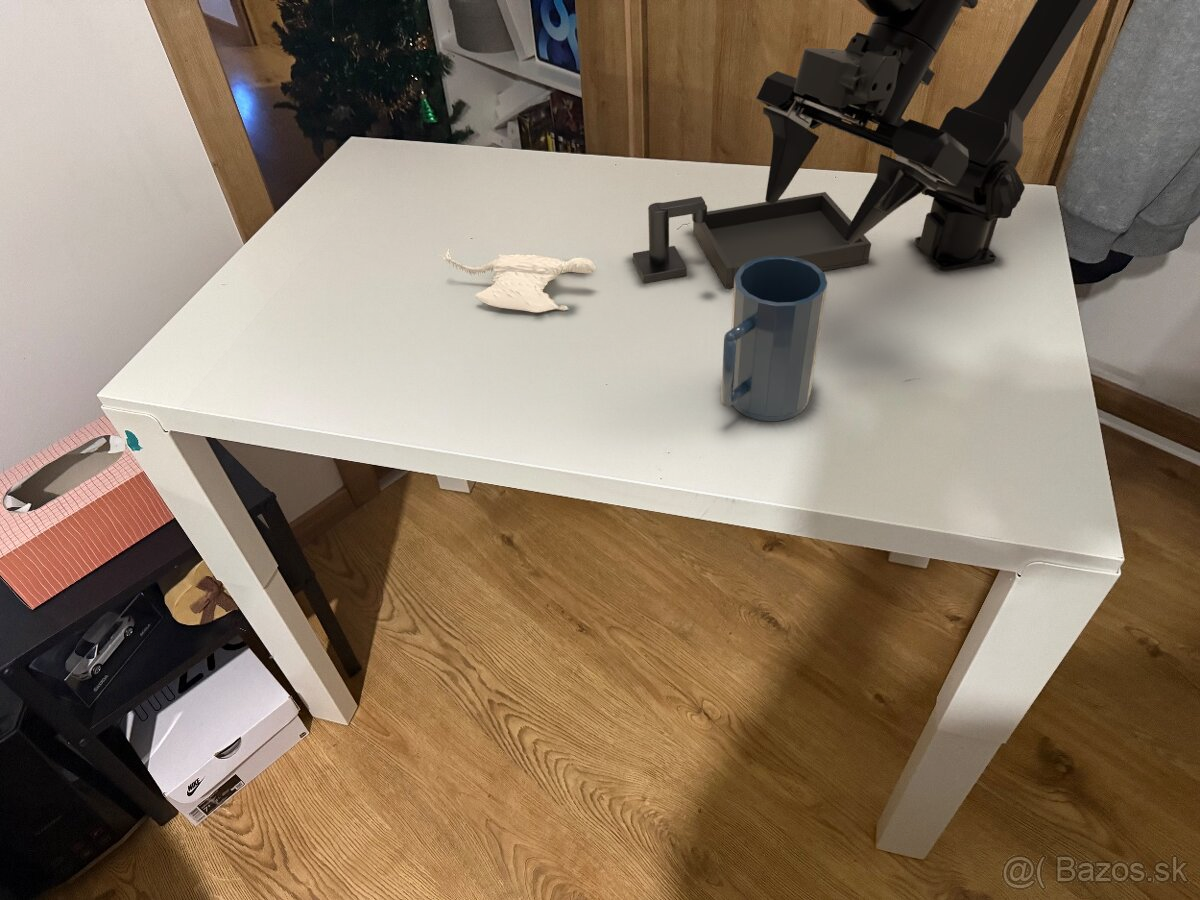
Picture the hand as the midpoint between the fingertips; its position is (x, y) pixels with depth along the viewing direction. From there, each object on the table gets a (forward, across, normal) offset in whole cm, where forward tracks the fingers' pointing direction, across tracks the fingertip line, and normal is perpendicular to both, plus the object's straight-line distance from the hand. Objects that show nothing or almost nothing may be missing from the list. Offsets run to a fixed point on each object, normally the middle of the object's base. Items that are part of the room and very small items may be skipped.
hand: (807, 221), depth 72 cm
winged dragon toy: (+20, -27, -4) cm, 34 cm away
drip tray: (+4, -14, +18) cm, 23 cm away
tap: (+11, -19, +8) cm, 23 cm away
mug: (+16, +4, +1) cm, 16 cm away
